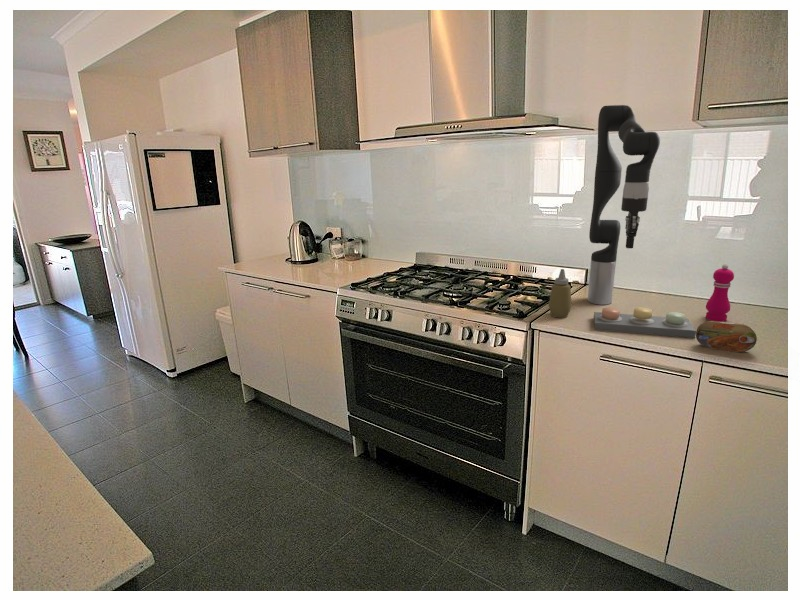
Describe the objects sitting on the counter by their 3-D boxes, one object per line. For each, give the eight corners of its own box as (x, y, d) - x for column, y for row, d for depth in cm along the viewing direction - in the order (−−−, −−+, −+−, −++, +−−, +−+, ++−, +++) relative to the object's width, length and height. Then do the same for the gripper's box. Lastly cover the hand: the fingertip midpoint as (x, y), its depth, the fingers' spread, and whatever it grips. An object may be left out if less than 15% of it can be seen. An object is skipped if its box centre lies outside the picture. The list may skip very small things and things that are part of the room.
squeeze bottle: (544, 316, 174) (546, 269, 168) (554, 310, 179) (557, 265, 174) (564, 320, 168) (568, 273, 163) (574, 315, 174) (578, 268, 168)
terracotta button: (601, 313, 165) (601, 307, 164) (618, 314, 163) (619, 308, 162) (602, 318, 160) (602, 312, 159) (619, 319, 158) (620, 313, 157)
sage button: (664, 318, 158) (665, 311, 158) (682, 319, 156) (683, 312, 156) (667, 323, 153) (668, 316, 153) (686, 324, 151) (687, 318, 151)
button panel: (593, 318, 170) (594, 311, 169) (686, 325, 159) (687, 318, 159) (594, 329, 159) (595, 322, 158) (694, 337, 149) (696, 330, 148)
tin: (693, 346, 143) (698, 320, 140) (693, 342, 146) (697, 317, 143) (753, 354, 136) (759, 328, 133) (752, 350, 138) (758, 324, 136)
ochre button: (632, 313, 161) (633, 306, 161) (650, 314, 160) (651, 308, 159) (634, 318, 156) (635, 311, 156) (652, 319, 155) (653, 313, 154)
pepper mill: (732, 322, 161) (742, 266, 155) (709, 321, 162) (718, 266, 156) (722, 315, 167) (732, 262, 162) (700, 315, 169) (709, 261, 163)
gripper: (620, 194, 159) (615, 244, 164) (624, 198, 147) (618, 251, 152) (645, 194, 156) (639, 244, 161) (650, 198, 145) (644, 252, 150)
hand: (629, 247), depth 157 cm, fingers closed
